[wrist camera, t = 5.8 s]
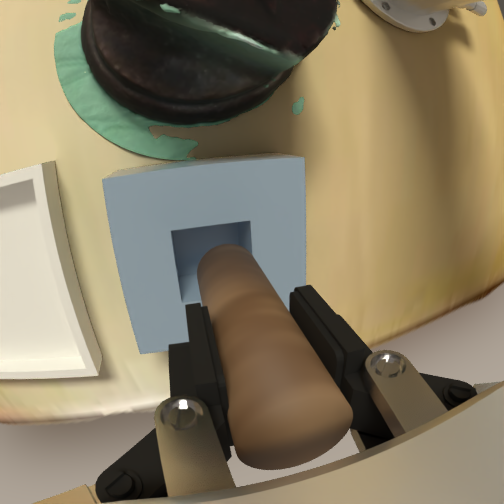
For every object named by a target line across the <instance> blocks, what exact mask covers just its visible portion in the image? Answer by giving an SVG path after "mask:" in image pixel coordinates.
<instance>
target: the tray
mask: <svg viewBox="0 0 504 504" xmlns="http://www.w3.org/2000/svg"><path fill="white" fill-rule="evenodd" d="M102 357H103V356H102V354H101V351H100V348H99V345H98V343H97V340H96V337H95V334H94V331H93V328H92V325H91V322H90V319H89V316H88V313H87V310H86V306H85V303H84V300H83V296H82V293H81V289H80V286H79V282H78V279H77V275H76V271H75V267H74V263H73V259H72V255H71V251H70V246H69V242H68V237H67V233H66V228H65V223H64V218H63V212H62V207H61V201H60V195H59V189H58V182H57V175H56V167H55V161H50V162H46V163H42V164H38V165H34V166H30V167H26V168H22V169H19V170H15V171H11V172H8V173H4V174H1V175H0V379H46V378H70V377H86V376H99V371H100V366H101V362H102Z"/></svg>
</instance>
